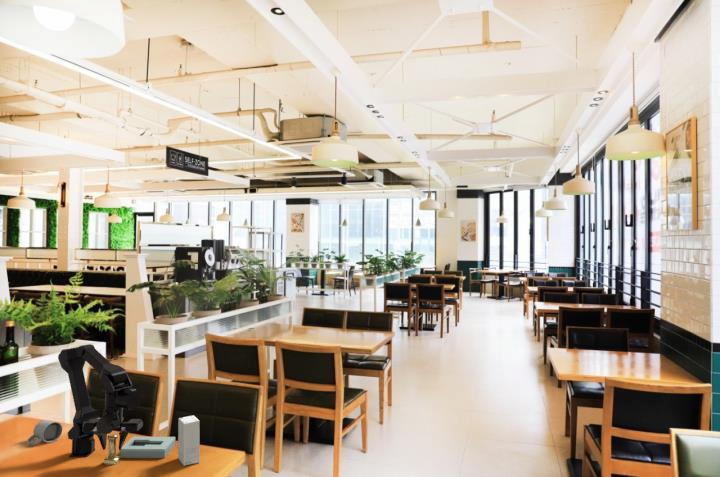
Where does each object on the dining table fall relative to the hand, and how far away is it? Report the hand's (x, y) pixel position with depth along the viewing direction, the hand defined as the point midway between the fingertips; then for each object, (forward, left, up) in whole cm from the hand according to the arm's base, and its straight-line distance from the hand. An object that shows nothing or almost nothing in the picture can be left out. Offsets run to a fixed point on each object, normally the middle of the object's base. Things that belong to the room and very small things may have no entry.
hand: (112, 449), depth 174 cm
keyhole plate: (+9, +10, -4) cm, 14 cm away
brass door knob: (0, 0, -4) cm, 4 cm away
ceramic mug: (-34, +19, -5) cm, 40 cm away
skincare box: (+26, +2, -5) cm, 26 cm away
